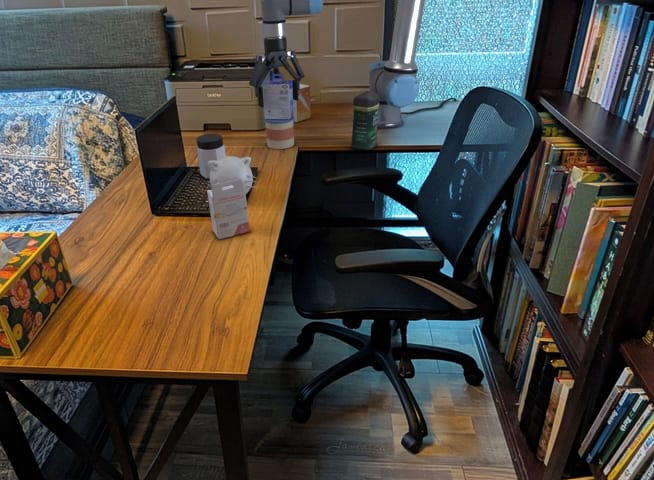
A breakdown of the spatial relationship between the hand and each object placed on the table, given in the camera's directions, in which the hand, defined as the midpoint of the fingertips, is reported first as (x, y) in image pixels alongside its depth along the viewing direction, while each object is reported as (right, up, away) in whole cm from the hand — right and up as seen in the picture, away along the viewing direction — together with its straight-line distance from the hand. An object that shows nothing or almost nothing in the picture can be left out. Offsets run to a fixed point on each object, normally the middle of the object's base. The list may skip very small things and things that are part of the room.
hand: (278, 103), depth 174 cm
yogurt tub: (+1, -12, +8) cm, 15 cm away
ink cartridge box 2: (0, -4, +3) cm, 5 cm away
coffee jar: (+30, -15, +2) cm, 34 cm away
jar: (-21, -27, -13) cm, 37 cm away
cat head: (-13, -37, -28) cm, 48 cm away
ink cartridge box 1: (-11, -49, -46) cm, 68 cm away
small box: (+8, +4, +33) cm, 35 cm away
